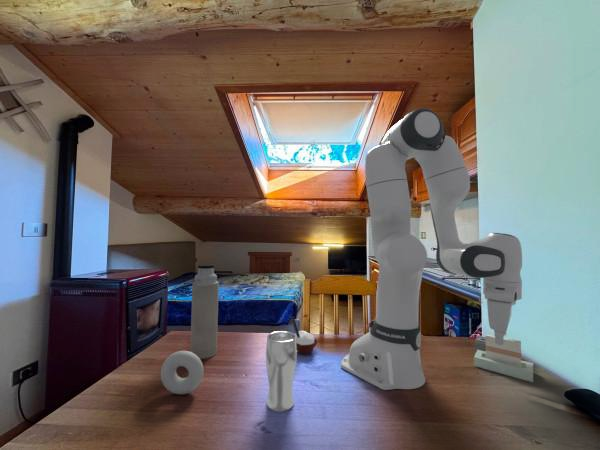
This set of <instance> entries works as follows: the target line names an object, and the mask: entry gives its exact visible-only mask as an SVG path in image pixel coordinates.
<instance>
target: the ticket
mask: <svg viewBox="0 0 600 450" xmlns="http://www.w3.org/2000/svg"><path fill="white" fill-rule="evenodd" d="M485 338H486V358H488V359H492V360H496V361H499V362H503V363H507V364H511V365H515V366H519V367H521V360H522V340H518V339H517V340H516V339H511V338H507V337H504V343H503V345H499V344H496V343H495V335H492V334H488V333H487V334H486V333H485Z"/></svg>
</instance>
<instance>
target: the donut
mask: <svg viewBox="0 0 600 450" xmlns="http://www.w3.org/2000/svg"><path fill="white" fill-rule="evenodd" d="M179 367H184V368H185V369H186V370H187V372H188V374H187V375H188V376H186V377H180V376H179V375H178V373H177V368H179ZM204 372H205V370H204V365H203V362H202V360H201V359H200V358H199V357H198V356H197V355H196V354H194V353H192V352H190V351H188V350H179V351H178V350H177V351H175V352H173V353H171V354H170V355H169V356H168V357H167V358H166V359H165V360H164V362H163V364H162V365H161V368H160V380H161V383H162V384H163V387H165V389H166V391H169V392H170V393H172V394H173V395H186V394H189V393H191V392H193V391H195V390H196V389H197V388H198V387H199V385H201V383H202V380H203V378H204Z"/></svg>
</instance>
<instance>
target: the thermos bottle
mask: <svg viewBox="0 0 600 450" xmlns="http://www.w3.org/2000/svg"><path fill="white" fill-rule="evenodd" d="M197 268H198V269H197V274H196V275H194V279H193V280H194V281H193V282H192V283H191V285H192V286H191V287H192V289H191V313H190V315H191V316H190V317H191V319H190V351H189V352H192V353H194V354H196V355H197V356H198V357H199V358H200V360H201V359H202V360H203V359H204V360H205V359H209V358H211V357H213V356H215V355H217V353H218V326H219V325H218V319H219V318H218V317H219V286H220V285H219V281H218V280H217V278H218V275H217V274H215V269H214V268H215V265H214V264H206V263H205V264H198V265H197Z"/></svg>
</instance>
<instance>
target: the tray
mask: <svg viewBox="0 0 600 450" xmlns="http://www.w3.org/2000/svg"><path fill="white" fill-rule="evenodd" d="M473 366H474V367H477V368H480V369H483V370H487V371H491V372H494V373H499V374H501V375H505V376H509V377H513V378H517V379H520V380H523V381H527V382H531V383H534V362H530V361H527V360H526V361H525V360H522V359H521V367H519V366H515V365H511V364H507V363H503V362H499V361H496V360H492V359H488V358H486V352H485V351H481V350H477V352H476V354H474V356H473Z"/></svg>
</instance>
